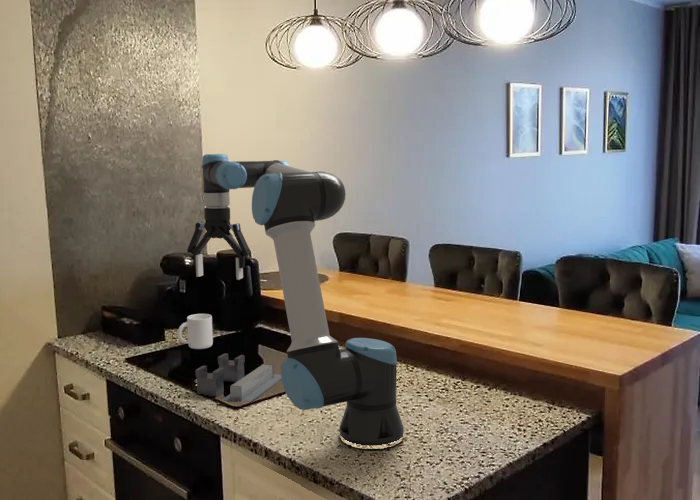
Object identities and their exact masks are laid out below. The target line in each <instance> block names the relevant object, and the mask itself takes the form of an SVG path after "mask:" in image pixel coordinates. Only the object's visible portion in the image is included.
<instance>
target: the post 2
mask: <svg viewBox="0 0 700 500" xmlns="http://www.w3.org/2000/svg"><path fill="white" fill-rule="evenodd" d="M245 358H246V357H245V355H244V354H240V355H238V356H237V357H235V358H234V359H233V360H230V359H229V353H226V352H225V353H223V354H221V355H219V356H217V364H218V368H224V375H223V382H229V383H236V382H237V381H239V380H240V379H242V378H243V377H245V362H246V361H245V360H246V359H245Z"/></svg>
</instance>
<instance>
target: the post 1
mask: <svg viewBox="0 0 700 500" xmlns="http://www.w3.org/2000/svg"><path fill="white" fill-rule="evenodd" d="M194 372H195V377H196V391H197V392H196V394H197V395H198V394H204V395H203V396H206V395H209V396H208V397H213V396H216V397H215V398H217V397H219V396H220V395H222V394H223V393H224V391H225V389H224V388H225V387H224V386H225V385H224V381H223V375H224V368H219V367H218V368H217V369H215V370H214V371H212V372H208V365H202V366H199V367H198V368H197V369H195V371H194Z"/></svg>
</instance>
